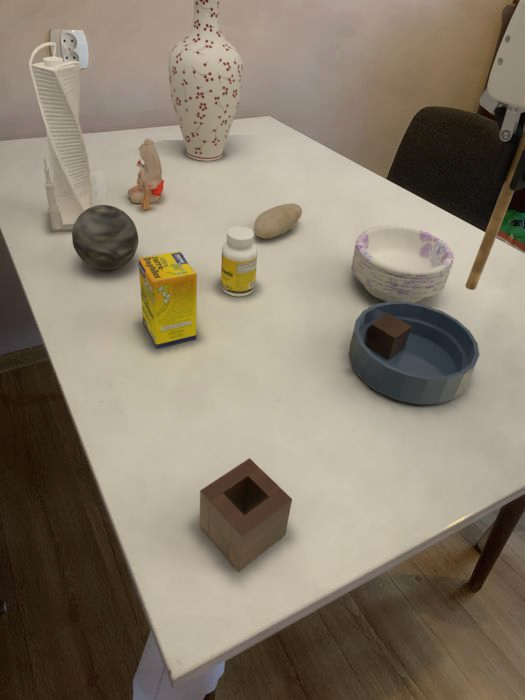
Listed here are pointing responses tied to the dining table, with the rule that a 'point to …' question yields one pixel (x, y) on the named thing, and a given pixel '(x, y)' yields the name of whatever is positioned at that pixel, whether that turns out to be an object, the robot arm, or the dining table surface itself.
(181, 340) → the supplement box
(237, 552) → the stick holder
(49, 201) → the skyscraper
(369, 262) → the paper bowls
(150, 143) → the figurine
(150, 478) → the dining table surface
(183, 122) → the vase
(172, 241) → the dining table surface
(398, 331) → the walnut cube
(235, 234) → the supplement bottle
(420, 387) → the stir bowl
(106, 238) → the decorative stone
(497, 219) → the bamboo stick
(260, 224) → the stone
